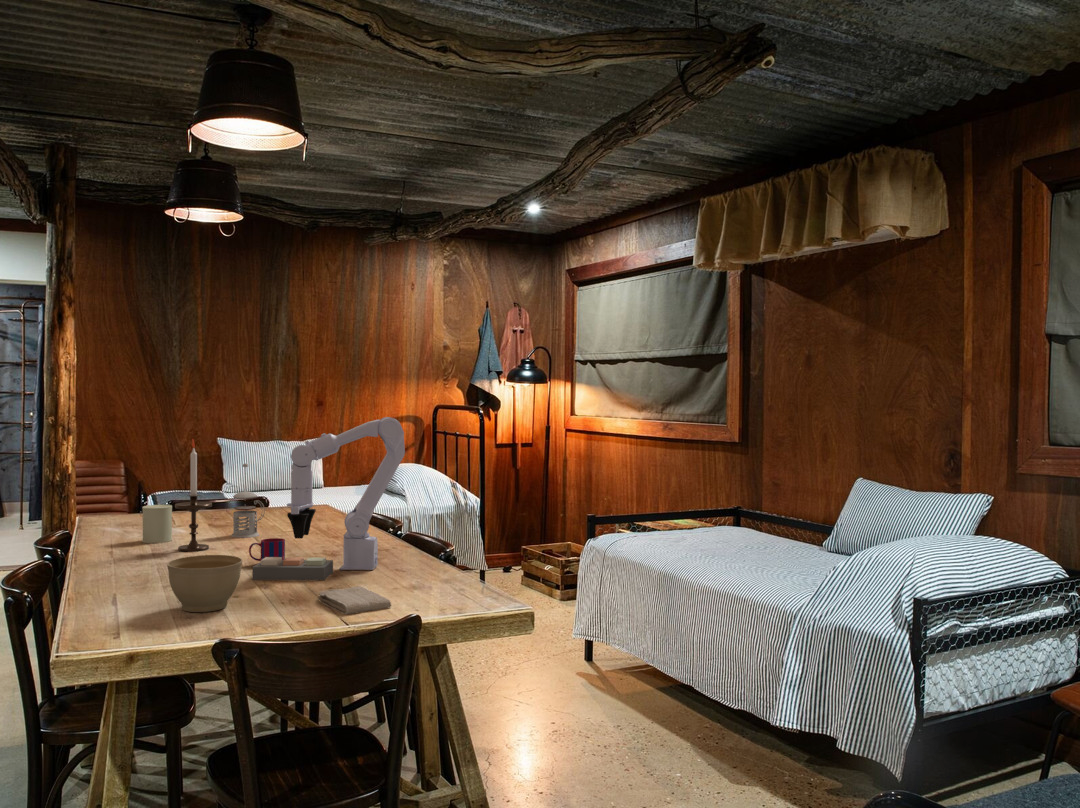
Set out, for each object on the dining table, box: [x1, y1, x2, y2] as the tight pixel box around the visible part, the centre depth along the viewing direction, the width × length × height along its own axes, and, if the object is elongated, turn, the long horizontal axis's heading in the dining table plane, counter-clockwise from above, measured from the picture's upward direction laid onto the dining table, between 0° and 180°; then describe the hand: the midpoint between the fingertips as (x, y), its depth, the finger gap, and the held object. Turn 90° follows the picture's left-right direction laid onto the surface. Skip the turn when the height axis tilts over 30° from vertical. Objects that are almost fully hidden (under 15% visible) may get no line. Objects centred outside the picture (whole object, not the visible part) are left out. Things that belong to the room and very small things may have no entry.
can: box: [141, 503, 173, 544], centre depth 289 cm, size 9×9×12 cm
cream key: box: [260, 557, 282, 565], centre depth 236 cm, size 4×4×2 cm
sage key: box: [305, 556, 327, 566], centre depth 236 cm, size 4×4×2 cm
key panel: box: [251, 559, 334, 581], centre depth 236 cm, size 19×10×3 cm, turn 90°
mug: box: [248, 537, 286, 562], centre depth 253 cm, size 7×10×7 cm
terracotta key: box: [283, 556, 305, 566], centre depth 236 cm, size 4×4×2 cm
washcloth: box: [317, 585, 392, 615], centre depth 206 cm, size 12×18×3 cm, turn 37°
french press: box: [230, 463, 266, 539], centre depth 301 cm, size 10×12×25 cm
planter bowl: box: [166, 554, 243, 613], centre depth 201 cm, size 16×16×11 cm
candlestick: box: [174, 438, 213, 553], centre depth 274 cm, size 11×11×35 cm
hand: (301, 536), depth 244 cm, fingers open, 5 cm apart
